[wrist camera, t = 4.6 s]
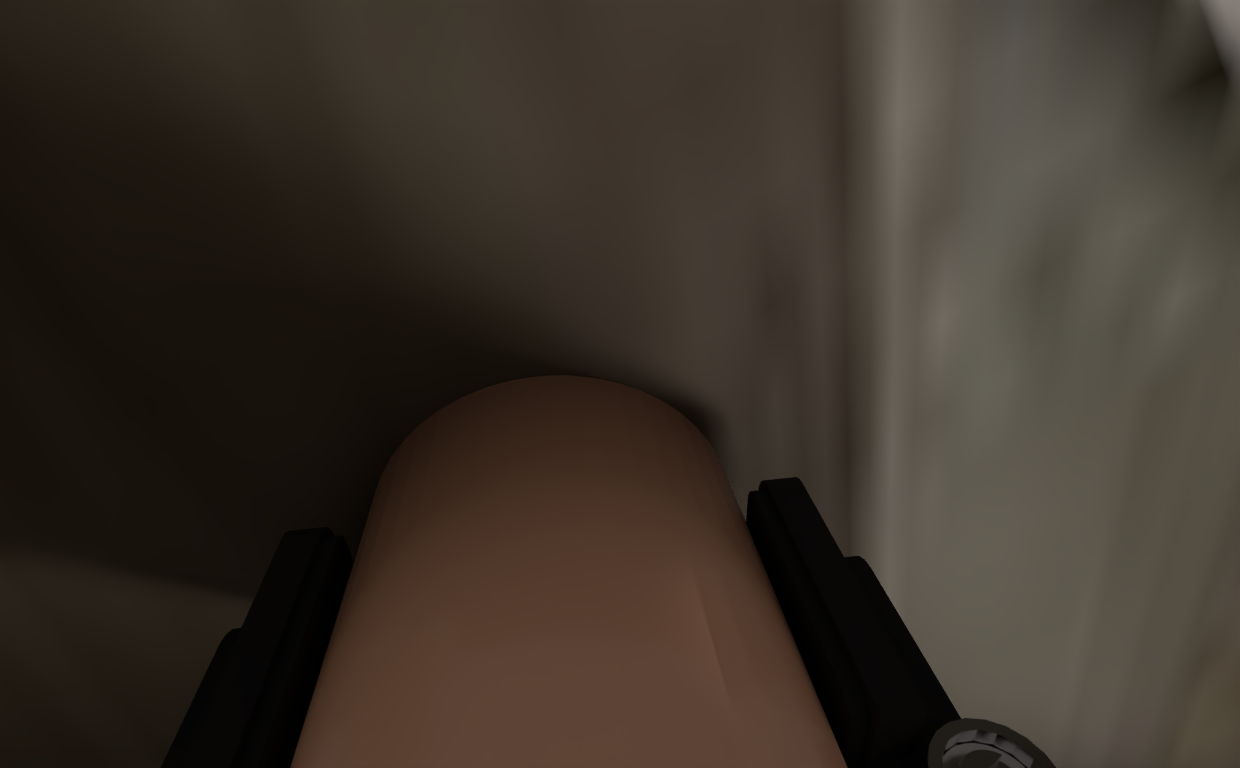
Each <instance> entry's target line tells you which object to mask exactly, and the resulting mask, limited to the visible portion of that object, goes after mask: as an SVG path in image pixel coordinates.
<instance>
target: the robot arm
mask: <svg viewBox="0 0 1240 768" xmlns="http://www.w3.org/2000/svg"><path fill="white" fill-rule="evenodd" d="M746 524H747V527H748V529H749V531H750V534H751V536H752V539H753V541H754V543H755V546H756V548H757V551H758V553H759V556H760V558H761V560H762V563H763V565H764V568H765V570H766V572H767V575H768V577H769V580H770V582H771V584H772V587H773V589H774V592H775V594H776V597H777V599H778V601H779V604H780V606H781V609H782V611H783V613H784V616H785V618H786V621H787V623H788V626H789V628H790V630H791V633H792V635H793V638H794V640H795V642H796V645H797V647H798V650H799V652H800V654H801V657H802V659H803V662H804V664H805V667H806V669H807V671H808V674H809V676H810V679H811V681H812V683H813V686H814V688H815V691H816V693H817V696H818V698H819V700H820V703H821V705H822V708H823V710H824V712H825V715H826V717H827V720H828V722H829V724H830V727H831V729H832V732H833V734H834V737H835V739H836V741H837V744H838V746H839V749H840V751H841V753H842V756H843V758H844V761H845V763H846V766H847V768H1056V767H1055V765H1054V764H1053V763H1052V762H1051V760H1050V759H1049V758H1048V757H1047V755H1046V754H1045V753H1044V752H1043V751H1042V750H1040V749H1039V748H1038V747H1037V746H1036V745H1035V744H1033V743H1032V742H1031V741H1030V740H1029V739H1027V738H1026V737H1024V736H1023V735H1021V734H1019V733H1017V732H1016V731H1014V730H1012V729H1010V728H1008V727H1007V726H1004V725H1001V724H998V723H995V722H992V721H988V720H985V719H972V718H963V719H961V718H960V716H959V714H958V713H957V711H956V709H955V708H954V706H953V704H952V703H951V701H950V699H949V698H948V696H947V694H946V693H945V691H944V689H943V688H942V686H941V684H940V683H939V681H938V679H937V678H936V676H935V674H934V673H933V671H932V669H931V668H930V666H929V664H928V663H927V661H926V659H925V658H924V656H923V654H922V653H921V651H920V649H919V648H918V646H917V644H916V643H915V641H914V639H913V637H912V636H911V634H910V632H909V631H908V629H907V627H906V626H905V624H904V622H903V621H902V619H901V617H900V616H899V614H898V612H897V611H896V609H895V607H894V606H893V604H892V602H891V601H890V599H889V597H888V596H887V594H886V592H885V591H884V589H883V587H882V586H881V584H880V582H879V581H878V579H877V577H876V576H875V574H874V572H873V571H872V569H871V567H870V566H869V565H868V563H867V562H866V561H865V560H864V559H863V558H861V557H860V556H852V557H844V556H843V555H842V553H841V551H840V549H839V547H838V546H837V544H836V542H835V540H834V539H833V537H832V535H831V533H830V531H829V530H828V528H827V526H826V524H825V522H824V521H823V519H822V517H821V515H820V514H819V512H818V510H817V508H816V506H815V505H814V503H813V501H812V499H811V498H810V496H809V494H808V492H807V490H806V489H805V487H804V485H803V483H802V482H801V481H800V479H799V478H797V477H793V478H783V479H774V480H764V481H761V483H760V485H759V490H758V491H751V492H749V495H748V505H747V519H746ZM352 566H353V560H352V557H351V553H350V550H349V547H348V544H347V541H346V539H345V537H344V536H341V535H340V536H334V535H333V533H332V531H331V530H330V528H328V527H323V528H313V529H304V530H294V531H288V532H287V533H285V534H284V536H283V538H282V539H281V542H280V544H279V546H278V548H277V550H276V553H275V555H274V557H273V559H272V561H271V564H270V566H269V568H268V570H267V572H266V575H265V577H264V579H263V581H262V584H261V586H260V588H259V590H258V592H257V595H256V597H255V599H254V601H253V603H252V606H251V608H250V610H249V612H248V614H247V617H246V619H245V621H244V623H243V625H242V628H238V629H232V630H231V631H230V632H229V633H227V634H226V635H225V637H224V638H223V640H222V641H221V643H220V645H219V646H218V649H217V651H216V653H215V655H214V657H213V659H212V661H211V663H210V665H209V667H208V670H207V672H206V674H205V676H204V678H203V680H202V682H201V684H200V686H199V688H198V691H197V693H196V695H195V697H194V699H193V701H192V703H191V705H190V707H189V710H188V712H187V714H186V716H185V718H184V720H183V722H182V724H181V726H180V728H179V731H178V733H177V735H176V737H175V739H174V741H173V743H172V745H171V747H170V749H169V752H168V754H167V756H166V758H165V760H164V762H163V764H162V766H161V768H290V767H291V763H292V760H293V757H294V754H295V750H296V747H297V744H298V741H299V737H300V734H301V731H302V728H303V724H304V721H305V718H306V715H307V712H308V708H309V705H310V702H311V699H312V695H313V692H314V689H315V686H316V682H317V679H318V676H319V673H320V669H321V666H322V663H323V660H324V656H325V653H326V650H327V647H328V643H329V640H330V637H331V634H332V630H333V627H334V624H335V621H336V617H337V614H338V611H339V608H340V605H341V601H342V598H343V595H344V592H345V588H346V585H347V582H348V579H349V575H350V572H351V569H352Z"/></svg>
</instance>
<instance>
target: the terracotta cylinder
mask: <svg viewBox="0 0 1240 768" xmlns="http://www.w3.org/2000/svg"><path fill="white" fill-rule="evenodd" d="M290 768H847V766H846V763H845V761H844V758H843V756H842V753H841V751H840V749H839V746H838V744H837V741H836V739H835V737H834V734H833V732H832V729H831V727H830V724H829V722H828V720H827V717H826V715H825V712H824V710H823V708H822V705H821V703H820V700H819V698H818V696H817V693H816V691H815V688H814V686H813V683H812V681H811V679H810V676H809V674H808V671H807V669H806V667H805V664H804V662H803V659H802V657H801V654H800V652H799V650H798V647H797V645H796V642H795V640H794V638H793V635H792V633H791V630H790V628H789V626H788V623H787V621H786V618H785V616H784V613H783V611H782V609H781V606H780V604H779V601H778V599H777V597H776V594H775V592H774V589H773V587H772V584H771V582H770V580H769V577H768V575H767V572H766V570H765V568H764V565H763V563H762V560H761V558H760V556H759V553H758V551H757V548H756V546H755V543H754V541H753V539H752V536H751V534H750V531H749V529H748V527H747V524H746V522H745V519H744V517H743V514H742V512H741V510H740V507H739V505H738V502H737V500H736V498H735V495H734V493H733V490H732V488H731V486H730V483H729V481H728V478H727V476H726V473H725V471H724V469H723V466H722V464H721V461H720V459H719V457H718V456H717V454H716V452H715V451H714V449H713V447H712V445H711V444H710V442H709V441H708V440H707V439H706V437H705V436H704V435H703V434H702V433H701V431H700V430H699V429H698V428H697V427H696V426H695V425H694V424H693V423H692V422H691V421H690V420H688V419H687V418H686V417H685V416H684V415H683V414H682V413H681V412H679V411H677V410H676V409H674V408H673V407H671V406H670V405H668V404H667V403H665V402H664V401H662V400H660V399H658V398H656V397H654V396H652V395H650V394H648V393H646V392H644V391H641V390H639V389H636V388H633V387H630V386H627V385H624V384H621V383H618V382H613V381H608V380H603V379H598V378H593V377H582V376H570V375H556V376H536V377H530V378H523V379H516V380H511V381H507V382H503V383H500V384H496V385H492V386H489V387H486V388H483V389H481V390H478V391H476V392H473V393H471V394H468V395H466V396H463V397H461V398H459V399H458V400H456V401H454V402H452V403H450V404H449V405H447V406H445V407H443V408H441V409H440V410H438V411H437V412H436V413H434V414H433V415H432V416H430V417H429V418H427V419H426V420H425V421H423V422H422V423H421V424H420V425H419V426H418V427H417V428H416V429H415V430H414V431H413V432H411V433H410V434H409V435H408V436H407V437H406V438H405V439H404V440H403V442H402V443H401V444H400V446H399V447H398V448H397V450H396V451H395V452H394V454H393V455H392V456H391V458H390V460H389V461H388V463H387V465H386V467H385V469H384V471H383V473H382V474H381V477H380V480H379V482H378V485H377V488H376V491H375V494H374V497H373V501H372V504H371V507H370V510H369V514H368V517H367V520H366V523H365V527H364V530H363V533H362V536H361V540H360V543H359V546H358V549H357V553H356V556H355V559H354V562H353V566H352V569H351V572H350V575H349V579H348V582H347V585H346V588H345V592H344V595H343V598H342V601H341V605H340V608H339V611H338V614H337V617H336V621H335V624H334V627H333V630H332V634H331V637H330V640H329V643H328V647H327V650H326V653H325V656H324V660H323V663H322V666H321V669H320V673H319V676H318V679H317V682H316V686H315V689H314V692H313V695H312V699H311V702H310V705H309V708H308V712H307V715H306V718H305V721H304V724H303V728H302V731H301V734H300V737H299V741H298V744H297V747H296V750H295V754H294V757H293V760H292V763H291V767H290Z"/></svg>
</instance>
